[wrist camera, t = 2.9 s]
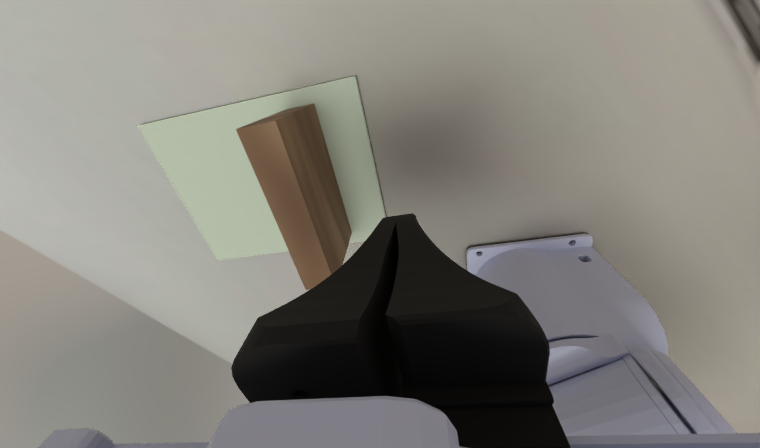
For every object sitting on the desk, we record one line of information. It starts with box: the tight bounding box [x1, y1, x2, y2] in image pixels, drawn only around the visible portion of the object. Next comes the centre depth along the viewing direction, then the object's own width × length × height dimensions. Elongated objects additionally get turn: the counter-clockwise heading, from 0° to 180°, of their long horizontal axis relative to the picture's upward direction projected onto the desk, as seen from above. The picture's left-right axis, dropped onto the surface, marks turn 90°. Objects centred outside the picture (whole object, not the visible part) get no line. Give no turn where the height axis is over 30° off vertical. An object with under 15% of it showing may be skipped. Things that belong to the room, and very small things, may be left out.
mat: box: [137, 76, 386, 260], centre depth 21 cm, size 16×12×1 cm
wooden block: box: [236, 103, 352, 290], centre depth 18 cm, size 2×10×6 cm, turn 12°
